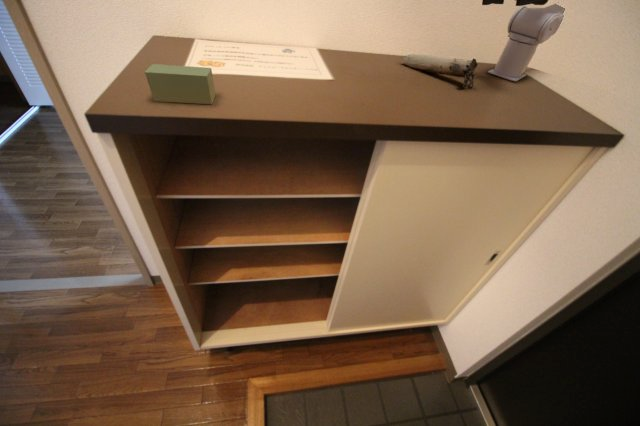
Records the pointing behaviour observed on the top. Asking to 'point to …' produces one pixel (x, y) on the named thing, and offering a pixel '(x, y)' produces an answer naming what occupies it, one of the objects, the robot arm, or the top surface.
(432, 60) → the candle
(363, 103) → the top surface
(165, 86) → the green rectangular block
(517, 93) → the top surface
